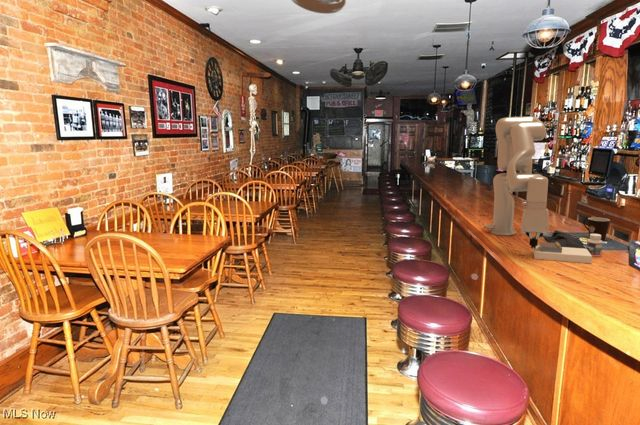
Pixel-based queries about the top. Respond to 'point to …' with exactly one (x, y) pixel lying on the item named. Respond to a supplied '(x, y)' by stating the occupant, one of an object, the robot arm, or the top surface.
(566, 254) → the socket block
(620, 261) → the top surface
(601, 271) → the top surface
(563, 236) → the black slab with knob
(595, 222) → the coffee mug
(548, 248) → the grey slab
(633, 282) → the top surface
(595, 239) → the pill bottle
